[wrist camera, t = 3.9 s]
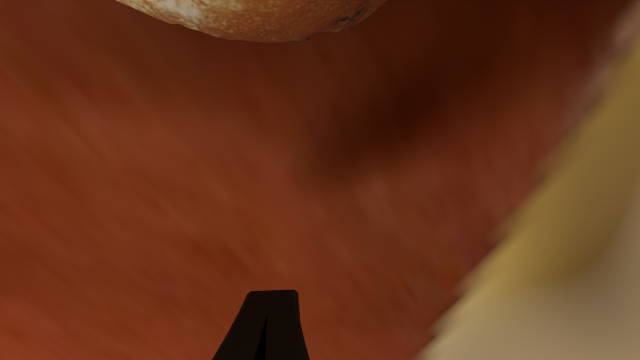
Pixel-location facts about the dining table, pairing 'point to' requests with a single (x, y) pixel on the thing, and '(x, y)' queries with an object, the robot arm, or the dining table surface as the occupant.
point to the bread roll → (260, 16)
